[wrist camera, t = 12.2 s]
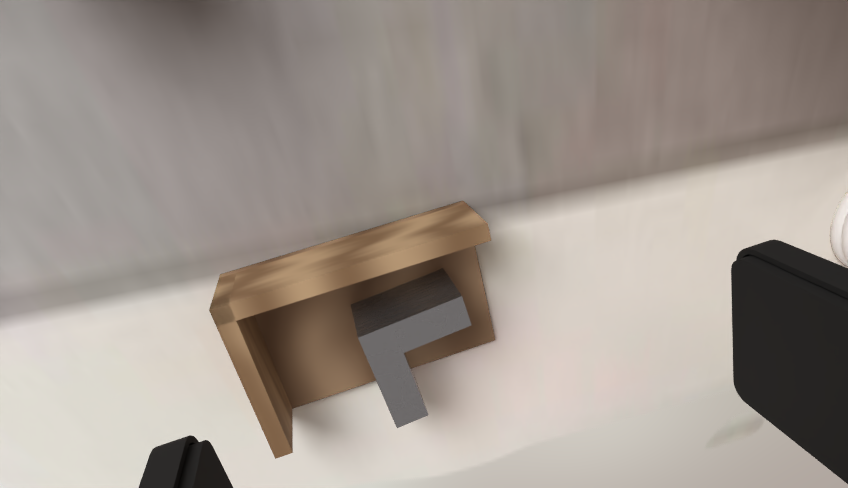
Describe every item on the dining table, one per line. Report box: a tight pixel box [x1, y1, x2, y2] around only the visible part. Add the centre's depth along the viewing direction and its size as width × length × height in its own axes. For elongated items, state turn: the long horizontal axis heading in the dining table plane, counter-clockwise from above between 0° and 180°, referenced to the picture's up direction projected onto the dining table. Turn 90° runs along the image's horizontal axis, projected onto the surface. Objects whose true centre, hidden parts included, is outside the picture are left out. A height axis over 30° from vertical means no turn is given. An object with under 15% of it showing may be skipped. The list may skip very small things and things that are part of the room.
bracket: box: [351, 268, 471, 428], centre depth 40 cm, size 8×7×5 cm
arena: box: [209, 201, 495, 459], centre depth 39 cm, size 18×12×6 cm, turn 104°
